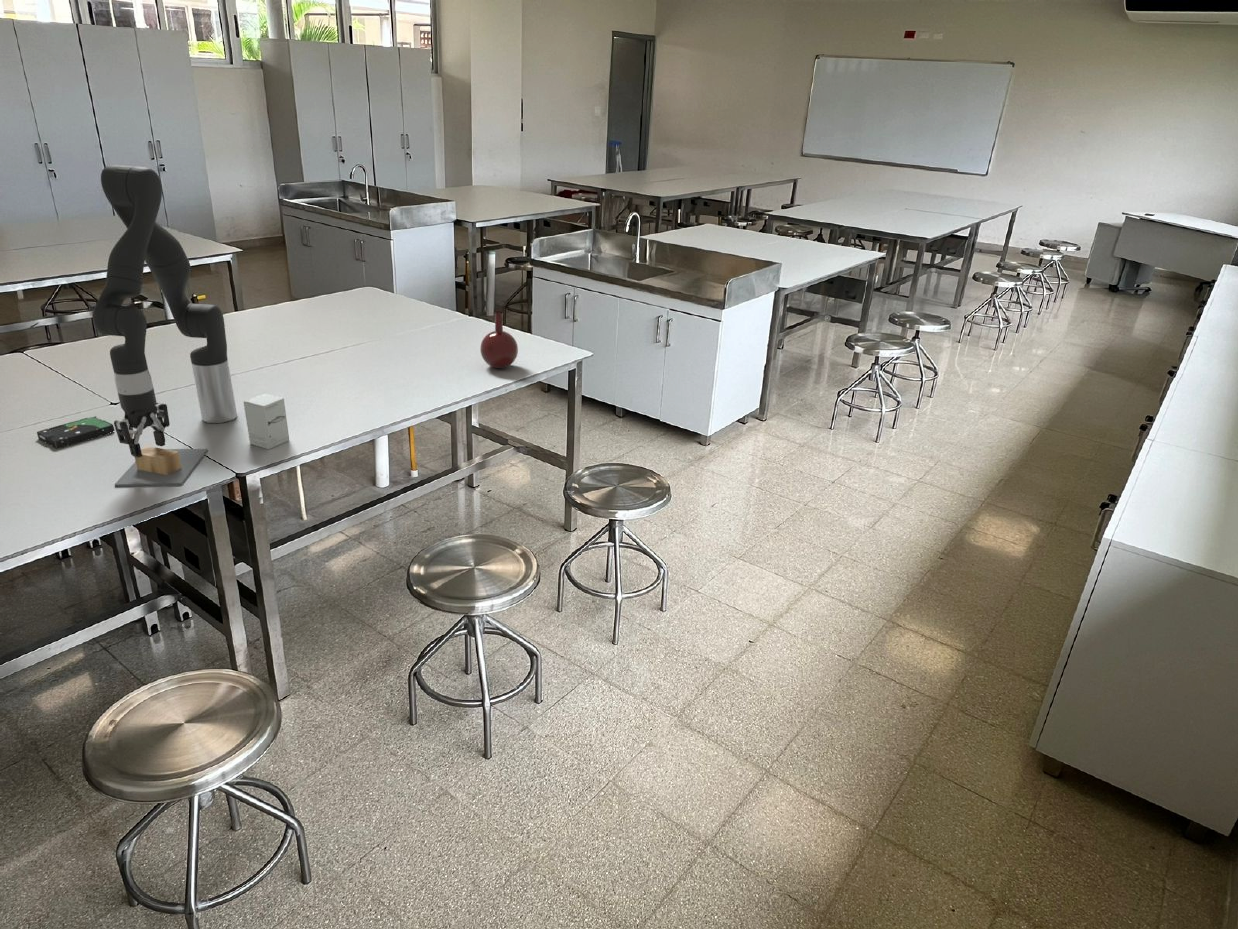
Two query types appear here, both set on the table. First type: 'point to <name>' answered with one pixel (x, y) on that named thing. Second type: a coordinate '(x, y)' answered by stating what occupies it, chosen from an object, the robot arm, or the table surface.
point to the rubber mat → (145, 478)
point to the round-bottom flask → (499, 345)
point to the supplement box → (266, 421)
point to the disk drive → (75, 432)
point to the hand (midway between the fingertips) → (149, 450)
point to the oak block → (158, 460)
